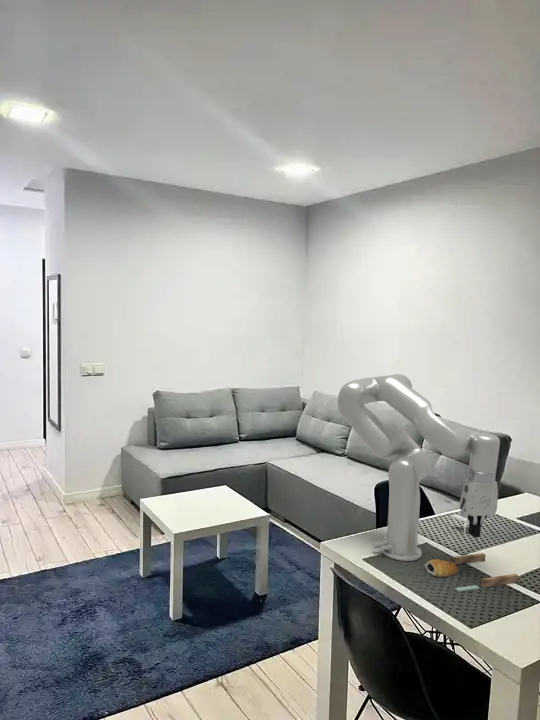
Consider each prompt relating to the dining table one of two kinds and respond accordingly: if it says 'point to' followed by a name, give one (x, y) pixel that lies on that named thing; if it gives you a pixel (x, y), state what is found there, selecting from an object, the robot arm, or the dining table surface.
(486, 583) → the chute
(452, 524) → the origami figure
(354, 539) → the dining table surface
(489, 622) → the dining table surface
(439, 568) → the pastry
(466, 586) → the strips
